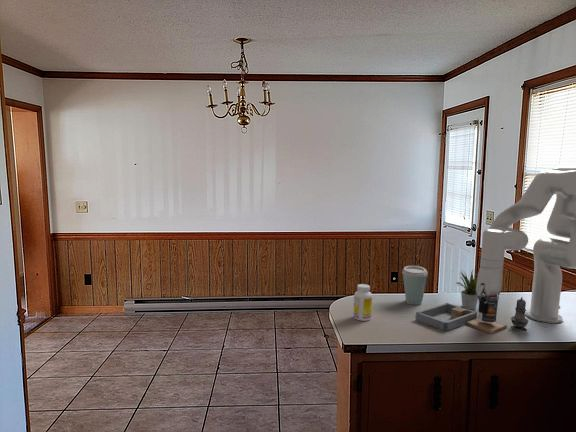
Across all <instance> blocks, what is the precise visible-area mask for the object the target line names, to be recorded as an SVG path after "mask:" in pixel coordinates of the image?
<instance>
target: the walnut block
mask: <svg viewBox="0 0 576 432" xmlns="http://www.w3.org/2000/svg"><path fill="white" fill-rule="evenodd" d="M460 307H461V306H459V307H455V308H452V309H451V312H450V320H452V319H455V318H458V317H461V316H464V315H466V314H467V310H466V308H465V309H463V308H464V307H462V308H460Z"/></svg>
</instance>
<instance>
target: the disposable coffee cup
mask: <svg viewBox="0 0 576 432" xmlns="http://www.w3.org/2000/svg"><path fill="white" fill-rule="evenodd" d="M401 274H402V277H403V278H402V279H403V287H404V296H405V301H406V303H408V304H410V305H414V306H415V305H416V306H419V305H421V304H422V302H423V298H424V294H425V290H426V289H425V287H426V284H427V280H428V279H427V278H428V274H429V272H428V271H427V269H426V268H425V267H422V266H419V265H406V266H404V267H403V269H402V271H401Z"/></svg>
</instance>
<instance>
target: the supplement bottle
mask: <svg viewBox="0 0 576 432" xmlns="http://www.w3.org/2000/svg"><path fill="white" fill-rule="evenodd" d="M356 289H357V290H356V291H355V292H354V295H353V296H354V297H353V298H354V302H353V318H354V319H355V320H357V321H361V322H367V321H370V320H371V319H372V311H373V310H372V309H373V306H372V305H373V304H372V303H373V294H372V292H370V290H371V286H370V285H369V284H365V283H360V284H357V287H356Z"/></svg>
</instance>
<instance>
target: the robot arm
mask: <svg viewBox="0 0 576 432" xmlns="http://www.w3.org/2000/svg"><path fill="white" fill-rule="evenodd" d="M554 195H556V197H555V198H556V199H555V202H554V205H553V208H552V211H551V214H550V215H549V218H548V221H547V224H546V231H547V232H548V233H549V234H551V235H552V236H555V237H560V238H563V239H564V238H565V239H569V241H567V240H562V239H558V238H552V237H542V238H539V239H537V240H536V241H535V243H534V245H533V246H532V247H533V248H532V253H533V259H534V261H533V262H534V263H533V265H534V268H533V279H532V289H531V299H530V308H529V309H526V311H525V317H527V318H529V319H531V320H533V321H537V322H540V321H542V322H541V323H546V322H547V323H548V324H559V322H560V323H562V322H563V317H562V316H561V315H560V314H559V312H560V311H559V310H560V309H561V306H560V301H561V293H562V291H561V290H562V283H563V272H562V269H561V267H562V268H567V269H576V165H569V164H568V165H558V166H555V167H553V168H552V170H541V171H540V172H538V173H537V174H536V175H535V176H534V177H533V179H532V181H531V182H530V184H529V185H528V186H527V188H526V190H525V191H524V193H523V195H522V196H521V198H520V199H519V200H518V201H517V202H516V203H514V204H512V205H510V206H509V207H508V208H506V209H504V210H503V211H502V212H500V213H499V214H498V215H497V216H496V217H495V219H494V220H493V222H492V223H491V224H490V226H489V228H487V229H485V230H483V232H482V237H481V238H482V239H481V252H480V253H481V254H480V263H479V266H480V267H479V270H478V272H477V277H478V278H477V277H476V278H477V285H475V286H476V293H477V297H478V310H477V311H478V313H479V312H480V313H484V314H488V303H487V302H488V298H489V296H490V295H493V294H496V295H495V296H496V297H497V298H498V300H499V299H500V294H501V291H502V290H503V288H502V287H503V269H504V262H505V251H507V250H510V251H520V250H523V249H525V248H526V247H527V245H528V243H529V237H528V234H526V233H525V232H524V231H523V230H520V229H516V228H511V226H512V225H513V224H515V223H517V222H518V221H521V220H524V219H528V218H532V217H536V216H539V215H541V214H542V213H543V212H544V210H545V208H546V207H547V206H548V203H549V202H550V201H551V199H552V198H553V196H554ZM483 292H484V293H486V294H483ZM483 296H486V298H484V297H483ZM498 306H499V303H498V304H497V308H498Z"/></svg>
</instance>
